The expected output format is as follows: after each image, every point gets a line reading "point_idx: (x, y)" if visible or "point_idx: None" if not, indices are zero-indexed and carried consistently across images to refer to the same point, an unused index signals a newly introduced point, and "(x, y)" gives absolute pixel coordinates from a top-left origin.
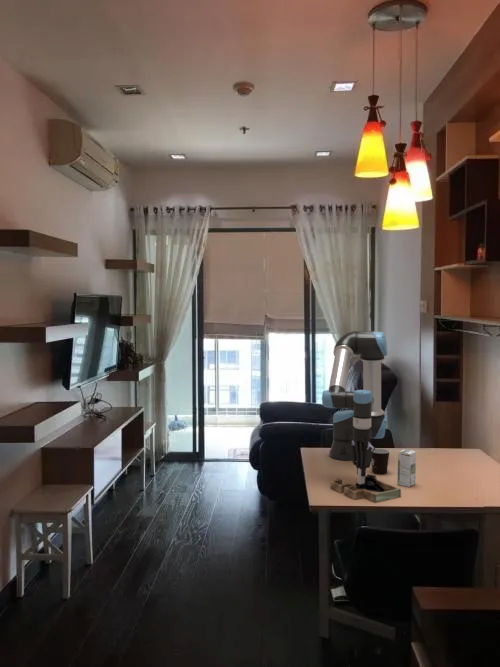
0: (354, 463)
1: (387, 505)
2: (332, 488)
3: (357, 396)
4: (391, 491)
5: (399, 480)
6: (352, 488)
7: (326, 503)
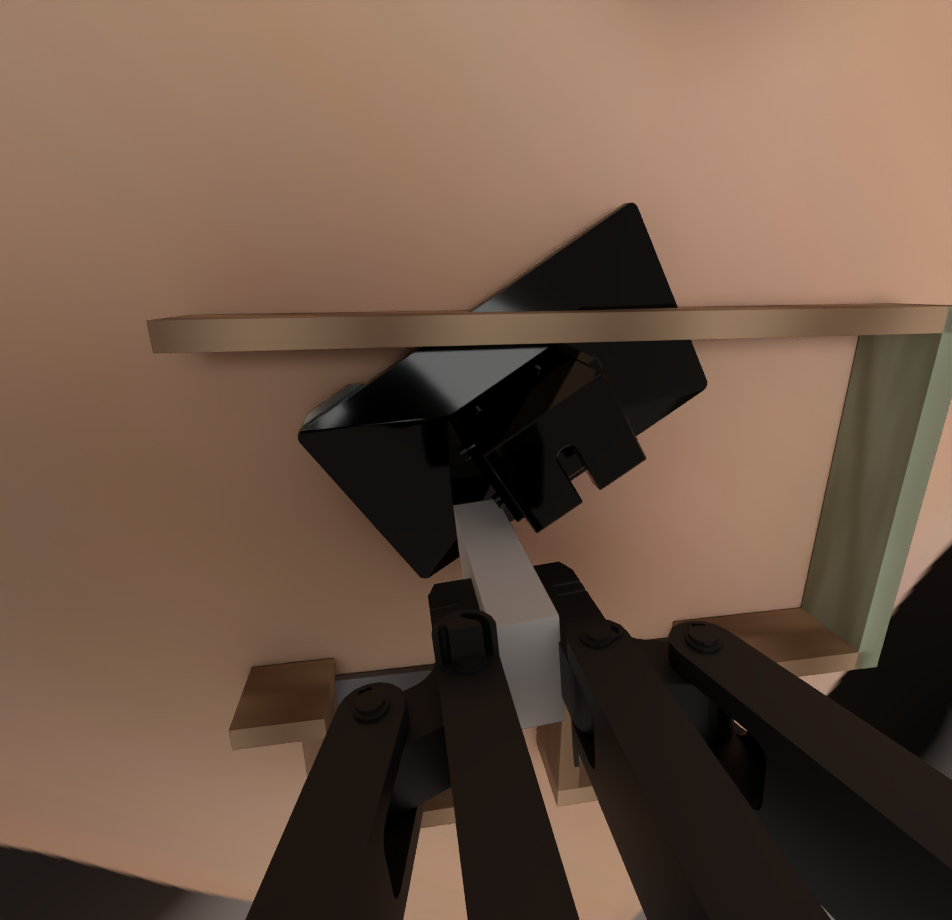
0: (409, 813)
1: (920, 569)
2: None
3: None
4: (931, 456)
5: None
6: None
7: (613, 911)
